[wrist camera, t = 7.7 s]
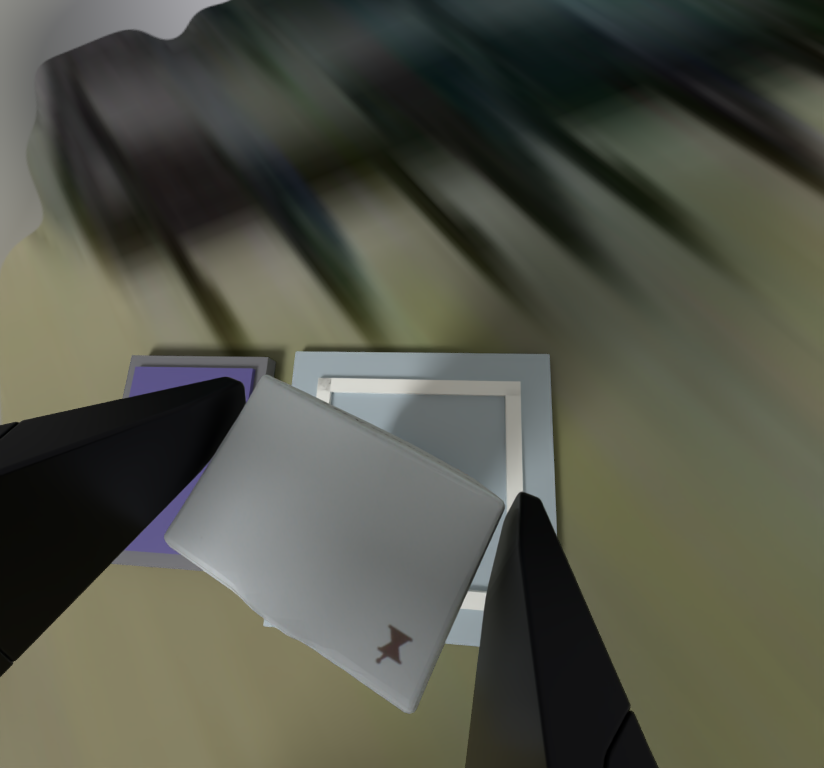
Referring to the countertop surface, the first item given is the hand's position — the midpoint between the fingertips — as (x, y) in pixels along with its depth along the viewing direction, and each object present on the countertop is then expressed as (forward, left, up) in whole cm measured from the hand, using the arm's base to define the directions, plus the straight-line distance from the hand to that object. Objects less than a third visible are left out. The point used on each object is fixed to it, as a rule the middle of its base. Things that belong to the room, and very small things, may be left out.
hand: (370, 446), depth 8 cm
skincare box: (-1, +1, -12) cm, 12 cm away
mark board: (-1, 0, -13) cm, 13 cm away
